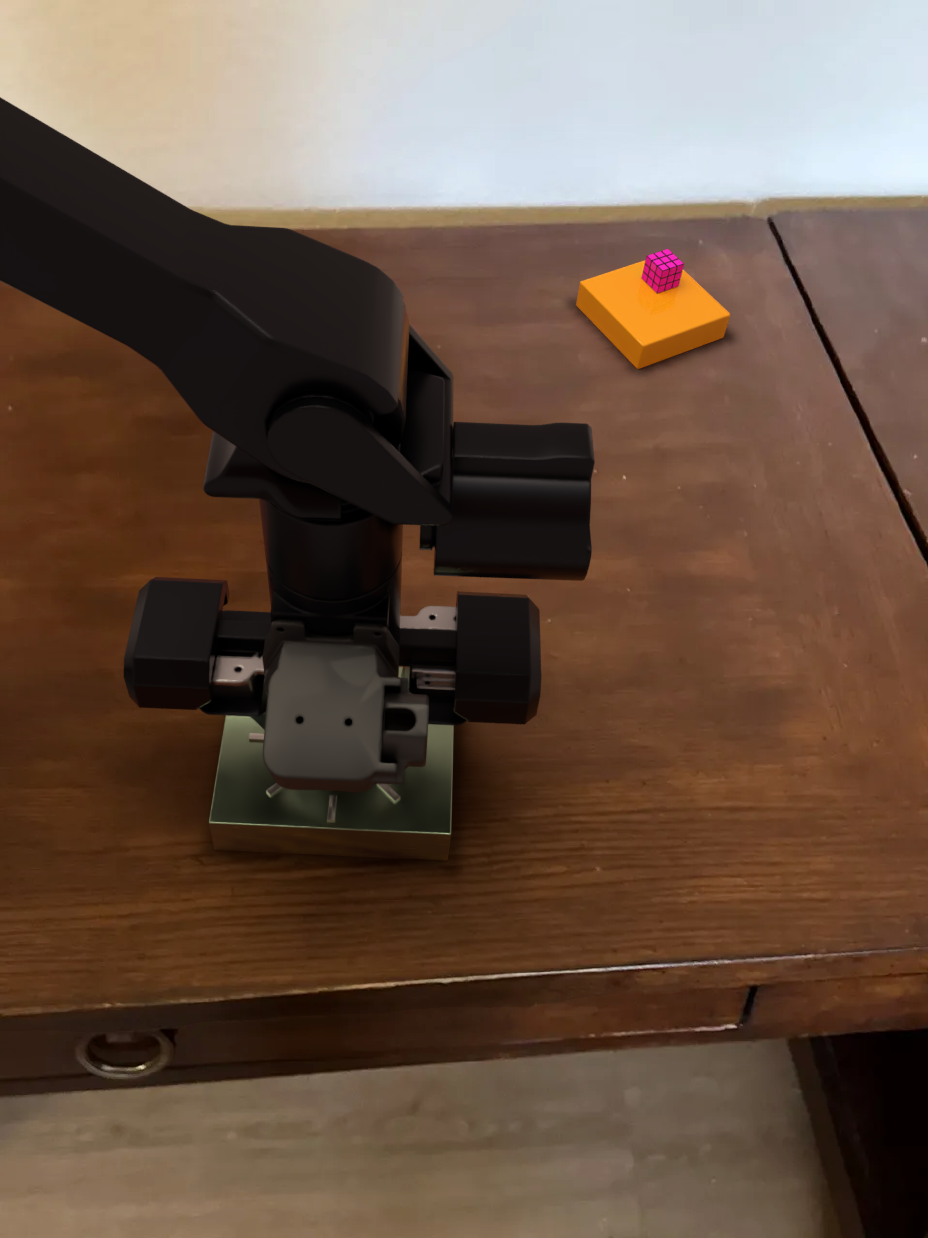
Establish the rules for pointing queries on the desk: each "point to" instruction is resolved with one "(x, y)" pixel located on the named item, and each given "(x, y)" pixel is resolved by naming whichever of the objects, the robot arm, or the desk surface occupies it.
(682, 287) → the orange square platform
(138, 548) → the desk surface
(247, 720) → the dial panel
